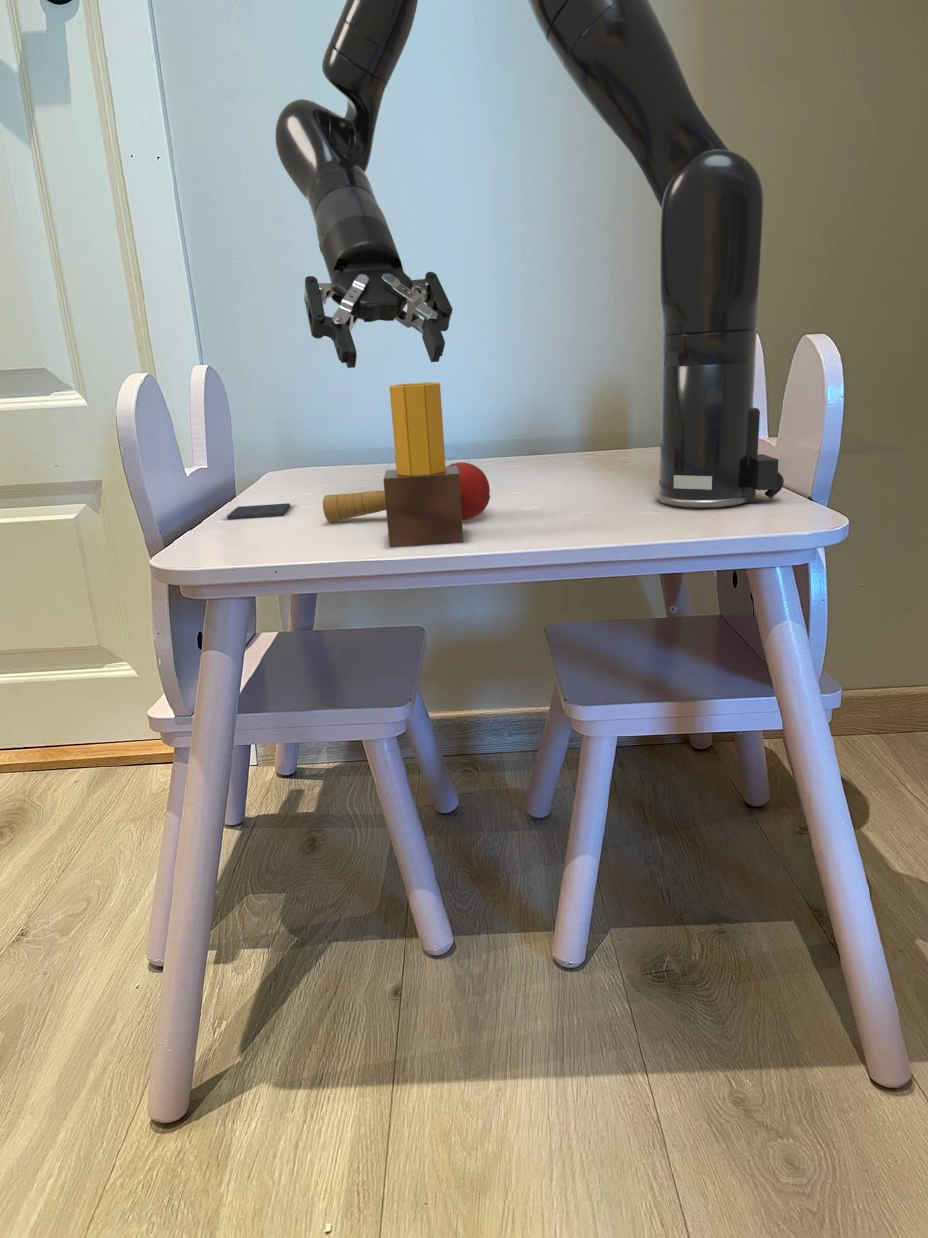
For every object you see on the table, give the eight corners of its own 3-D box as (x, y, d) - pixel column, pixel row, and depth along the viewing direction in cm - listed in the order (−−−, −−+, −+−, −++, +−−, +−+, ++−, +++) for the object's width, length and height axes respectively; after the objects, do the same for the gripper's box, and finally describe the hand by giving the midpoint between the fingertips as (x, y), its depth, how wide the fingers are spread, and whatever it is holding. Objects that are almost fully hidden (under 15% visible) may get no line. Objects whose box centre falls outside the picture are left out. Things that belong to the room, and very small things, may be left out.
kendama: (319, 543, 87) (486, 516, 83) (308, 483, 86) (476, 452, 82) (344, 539, 94) (499, 513, 90) (334, 483, 93) (489, 455, 89)
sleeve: (445, 466, 81) (439, 381, 78) (446, 473, 76) (440, 384, 74) (398, 469, 81) (390, 384, 78) (396, 477, 76) (388, 387, 74)
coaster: (290, 506, 101) (289, 503, 101) (282, 515, 96) (282, 512, 96) (238, 509, 101) (237, 506, 101) (227, 519, 96) (226, 515, 96)
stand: (461, 530, 83) (454, 413, 79) (463, 542, 78) (455, 417, 74) (391, 535, 83) (381, 417, 79) (389, 547, 78) (378, 422, 74)
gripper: (289, 213, 82) (325, 333, 75) (427, 211, 86) (472, 324, 79) (288, 276, 88) (321, 391, 81) (416, 271, 92) (457, 380, 86)
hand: (395, 358), depth 80 cm, fingers open, 8 cm apart
